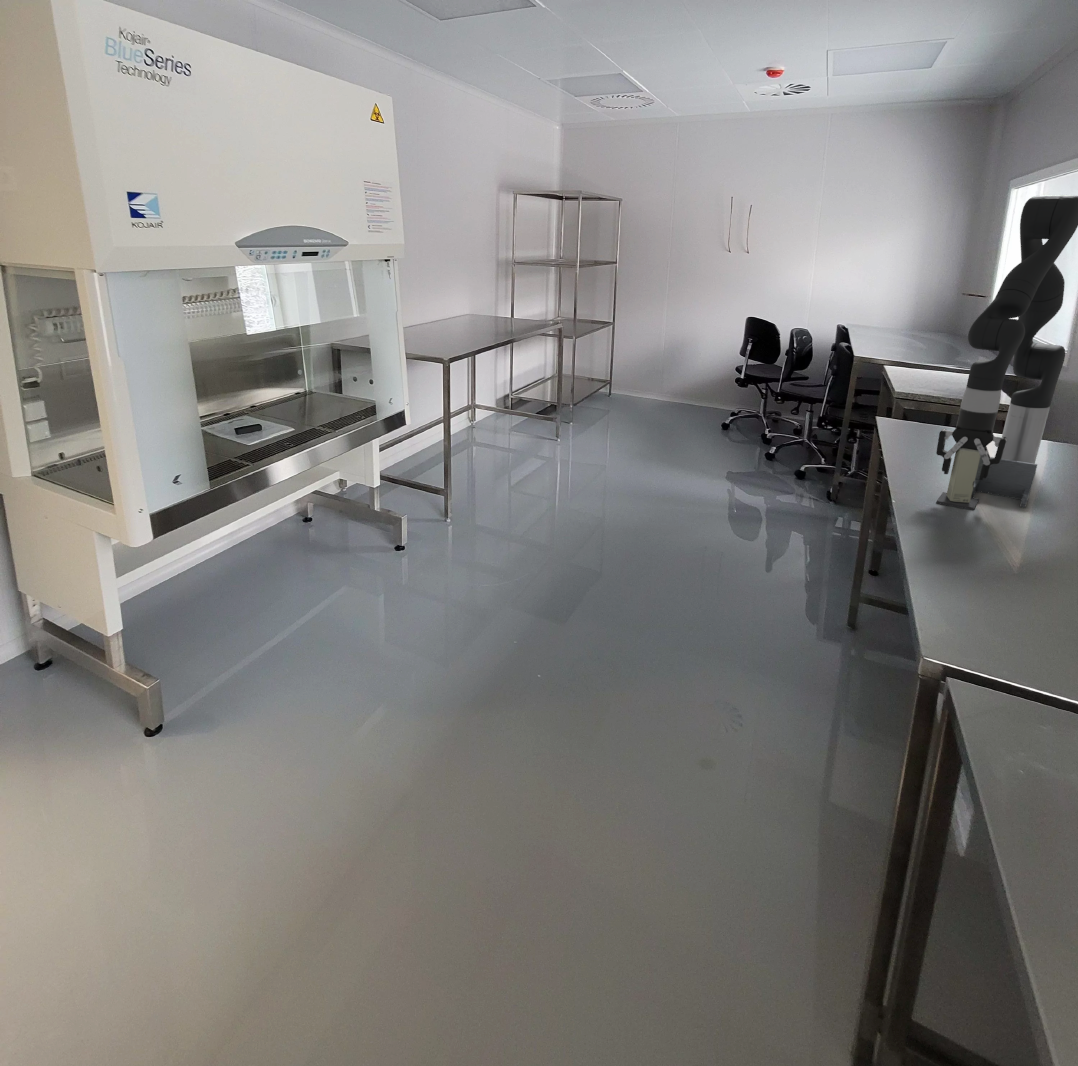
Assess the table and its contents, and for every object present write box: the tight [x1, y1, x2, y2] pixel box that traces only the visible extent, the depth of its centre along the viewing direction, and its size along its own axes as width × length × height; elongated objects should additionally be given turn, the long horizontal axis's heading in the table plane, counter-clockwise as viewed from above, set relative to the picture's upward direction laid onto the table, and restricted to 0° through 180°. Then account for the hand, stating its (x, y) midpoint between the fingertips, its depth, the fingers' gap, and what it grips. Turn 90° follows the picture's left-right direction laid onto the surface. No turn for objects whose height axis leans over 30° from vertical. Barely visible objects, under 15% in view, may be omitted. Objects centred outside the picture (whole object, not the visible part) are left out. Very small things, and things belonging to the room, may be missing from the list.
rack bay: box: [971, 456, 1038, 509], centre depth 178 cm, size 8×12×9 cm, turn 53°
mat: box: [935, 491, 980, 511], centre depth 178 cm, size 8×8×1 cm
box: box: [946, 448, 980, 503], centre depth 175 cm, size 5×4×13 cm
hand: (963, 476), depth 175 cm, fingers open, 7 cm apart
